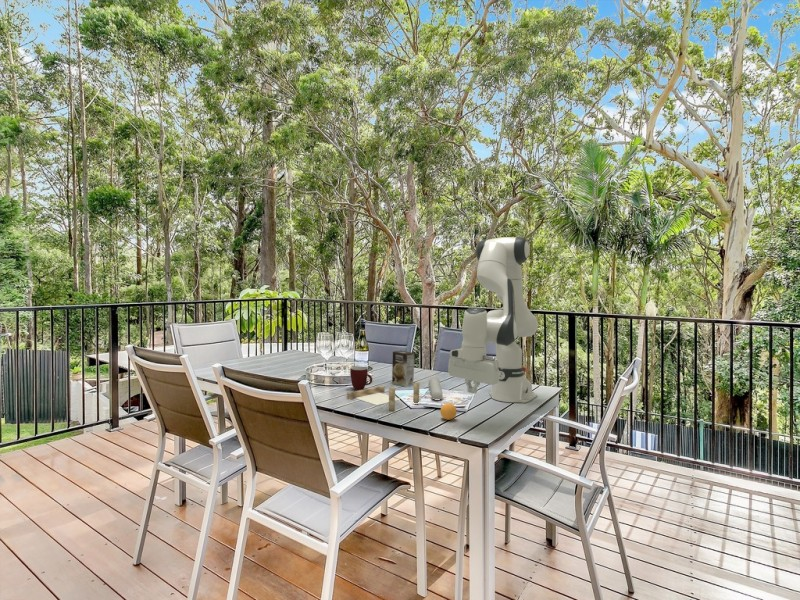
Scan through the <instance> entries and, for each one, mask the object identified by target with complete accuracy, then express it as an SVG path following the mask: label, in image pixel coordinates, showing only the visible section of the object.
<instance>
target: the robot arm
mask: <svg viewBox="0 0 800 600" xmlns="http://www.w3.org/2000/svg"><path fill="white" fill-rule="evenodd" d="M529 256H530V244H529V242H528V240H527V239H526V238H525V237H522V236H517V237H514V236H513V237H511V236H505V237H504V236H502V237H496V238H489V239H488V238H487V239H486V238H485V239H482V240H480V241H478V243H477V245H476V248H475V257H476V260H477V261H478V263H477V268H476V279H477V281H478V283H479V285H481V286H482V288H484V289H486V290H487V291H489V292H492V293H495V294H496V297H497V299H498V300H499V301H500V302H501V303H502V309H500V308H499V309H494V310H493V309H492V310H490V311H488V312H487V310H486V309H485V308H481V307H469V308H467V309H465V311H464V314H463V319H462V328H461V329H462V330H461V336H462V341H461V347H459V348H456V349H451V350H450V351H449V356H450V357H449V359H448V364H447V373H448V374H449V376H451V377H454V378H458V379H459V378H460V379H463V380H464V383H465V385H466V389H467V390H466V391H467V392H468V393H471V394H477V393H478V388H479V387H480V385H481V383H483V384H485V385H489V386H491V391H489V395H490V397H491V398H492V399H493V400H496V401H499V402H503V403H521V404H522V403H523V404H525V403H527V404H528V403H529V402H530V401H532V400H534V399H535V398H537V397H538V394H537V393H536V392H534V391H533V385H532V382H531V381H530V380H529V379H527V377H526V376H525V372H527V370H528V368H527V367H526V366H522V365H523V349H522V347H521V346H520V345H519V344H517V342H516V340H517V338H518V337H519V338H525V337H532V336H533V335H535V334H536V332H537V330H538V328H539V323H538V319H537V317H536V315H534V314H533V313H532V311H531V310H530V309H529V307H528V306H527V304H526V301H525V297H524V289H523V273H522V272H523V270H522V265H523V263H525V262H526V261H527V260H528V258H529ZM487 344H494V346H495V353H496V354H495V357H493V356H492V357H491V356H488V355H487V351H488V350H487V349H488V345H487ZM472 382H473V384H474V385H472Z"/></svg>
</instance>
